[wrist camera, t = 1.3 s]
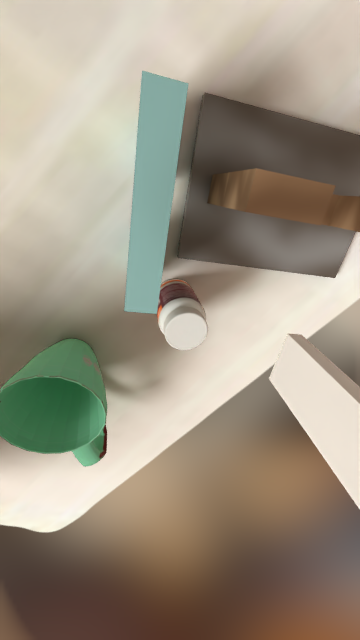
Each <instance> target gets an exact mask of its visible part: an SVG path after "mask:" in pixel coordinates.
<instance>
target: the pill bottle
mask: <svg viewBox="0 0 360 640" xmlns="http://www.w3.org/2000/svg"><path fill="white" fill-rule="evenodd" d="M157 318H158V324H159V327H160V330H161V331H162V333H163V334H164V335H165V338H166V340H167V342H168V343H169V345H170V346H172V347H173V348H175V349H178V350H190V349H193V348H196V347H197V346H199V345H200V344H201V343H202V342H203V341H204V340H205V338H206V336H207V332H208V326H207V323H206V315H205V311H204V309H203V307H202V305H201V303H200V302H199V300H198V298H197V296H196V295H195V293H194V291H193V289H192V288H191V286H190V285H189V284H188V283H186V282H185V281H183V280H180V279H171V280H167V281H165V282H163V283H162V284H161V287H160V294H159V302H158V309H157Z"/></svg>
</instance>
